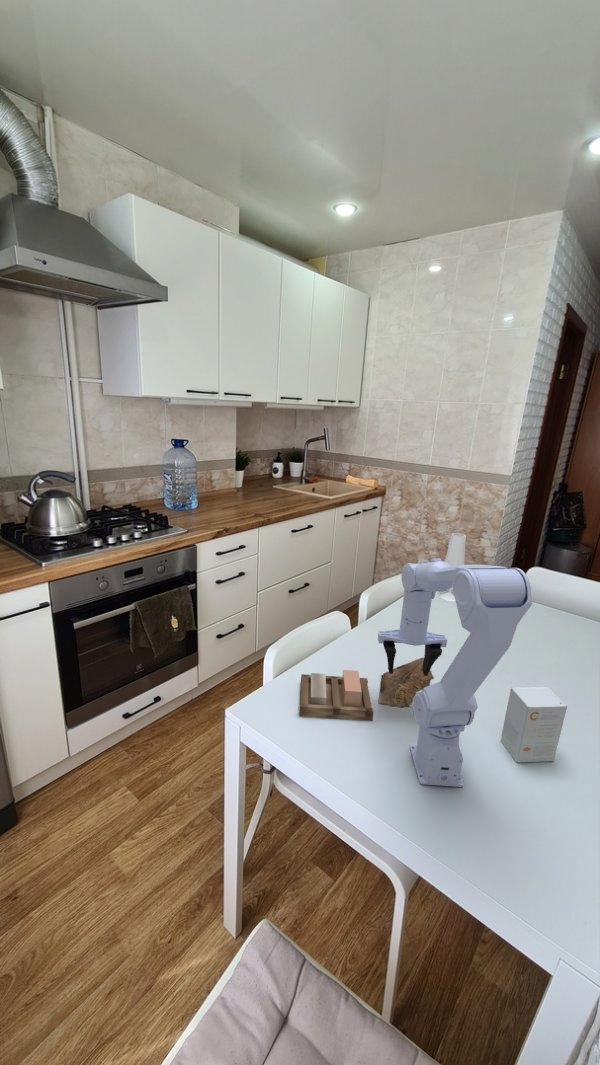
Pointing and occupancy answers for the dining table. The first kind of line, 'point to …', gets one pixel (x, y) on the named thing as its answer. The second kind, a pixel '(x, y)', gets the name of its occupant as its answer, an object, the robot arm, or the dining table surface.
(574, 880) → the dining table surface
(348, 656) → the dining table surface
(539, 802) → the dining table surface
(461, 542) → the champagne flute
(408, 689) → the wooden fragment
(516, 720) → the small box
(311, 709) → the rack
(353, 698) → the clay bar
